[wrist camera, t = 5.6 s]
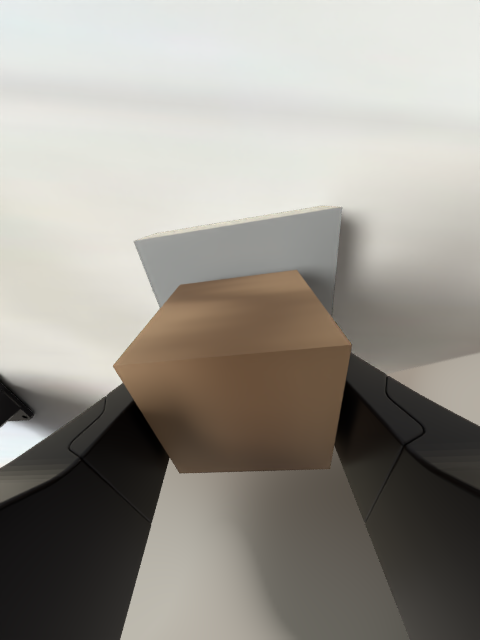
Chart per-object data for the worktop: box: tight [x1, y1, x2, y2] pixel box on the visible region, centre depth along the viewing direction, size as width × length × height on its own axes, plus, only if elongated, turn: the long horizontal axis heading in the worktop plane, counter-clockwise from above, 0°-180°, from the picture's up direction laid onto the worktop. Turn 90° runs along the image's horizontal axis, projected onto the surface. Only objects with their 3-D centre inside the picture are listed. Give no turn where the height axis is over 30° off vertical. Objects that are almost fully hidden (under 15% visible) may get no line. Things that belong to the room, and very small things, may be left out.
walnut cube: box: [113, 270, 352, 473], centre depth 7 cm, size 5×5×5 cm
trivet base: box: [134, 206, 342, 317], centre depth 12 cm, size 9×9×3 cm
